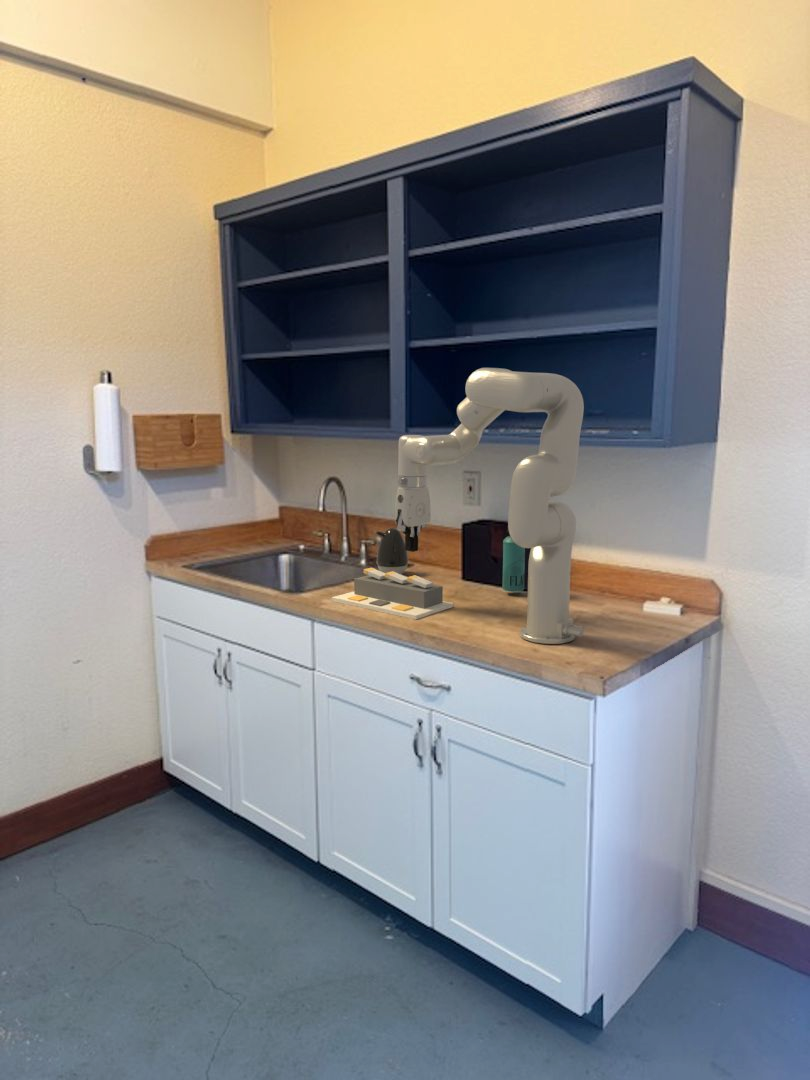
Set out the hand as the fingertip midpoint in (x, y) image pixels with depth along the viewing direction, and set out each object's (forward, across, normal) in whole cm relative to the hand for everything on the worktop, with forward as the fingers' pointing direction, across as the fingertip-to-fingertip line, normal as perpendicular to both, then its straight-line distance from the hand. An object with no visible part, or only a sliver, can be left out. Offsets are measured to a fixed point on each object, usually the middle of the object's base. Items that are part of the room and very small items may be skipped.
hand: (411, 550), depth 203 cm
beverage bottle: (+15, +27, -15) cm, 35 cm away
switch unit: (+15, -2, +5) cm, 16 cm away
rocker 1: (+8, 0, +13) cm, 15 cm away
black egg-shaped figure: (+16, +26, +29) cm, 42 cm away
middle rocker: (+8, 0, +5) cm, 10 cm away
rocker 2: (+8, 0, -3) cm, 9 cm away
